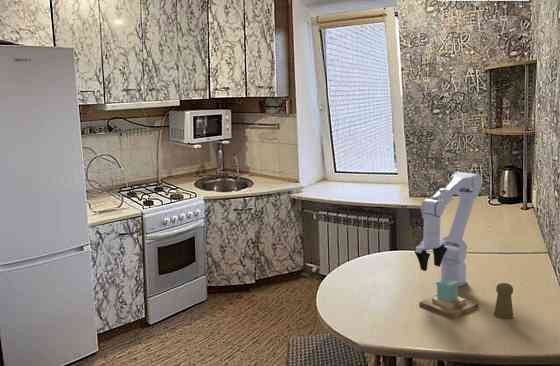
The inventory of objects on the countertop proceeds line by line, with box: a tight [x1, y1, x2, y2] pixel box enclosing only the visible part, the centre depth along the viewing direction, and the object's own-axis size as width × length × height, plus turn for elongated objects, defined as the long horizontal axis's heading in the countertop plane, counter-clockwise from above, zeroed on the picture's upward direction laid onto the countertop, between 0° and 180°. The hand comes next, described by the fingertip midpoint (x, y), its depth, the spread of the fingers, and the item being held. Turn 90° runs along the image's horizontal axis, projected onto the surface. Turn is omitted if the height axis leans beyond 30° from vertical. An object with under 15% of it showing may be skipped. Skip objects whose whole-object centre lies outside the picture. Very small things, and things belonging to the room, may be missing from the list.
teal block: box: [436, 278, 459, 302], centre depth 189 cm, size 5×5×6 cm
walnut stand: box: [419, 294, 479, 320], centre depth 189 cm, size 14×14×3 cm
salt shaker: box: [493, 282, 514, 320], centre depth 180 cm, size 6×6×11 cm
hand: (430, 268), depth 198 cm, fingers open, 7 cm apart
